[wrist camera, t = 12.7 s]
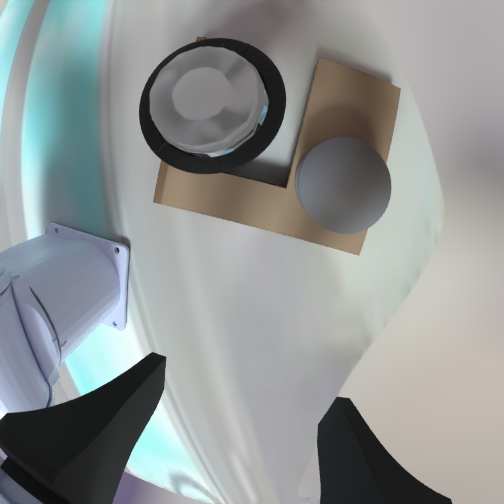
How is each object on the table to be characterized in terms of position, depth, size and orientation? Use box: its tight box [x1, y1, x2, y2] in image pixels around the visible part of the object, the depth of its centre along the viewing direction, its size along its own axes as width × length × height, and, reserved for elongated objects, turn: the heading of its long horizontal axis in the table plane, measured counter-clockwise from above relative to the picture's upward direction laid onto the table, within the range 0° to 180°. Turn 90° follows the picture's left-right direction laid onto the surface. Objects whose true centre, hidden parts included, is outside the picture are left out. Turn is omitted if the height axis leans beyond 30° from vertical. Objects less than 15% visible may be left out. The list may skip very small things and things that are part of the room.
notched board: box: [153, 37, 401, 255], centre depth 15 cm, size 14×12×4 cm
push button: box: [139, 38, 286, 174], centre depth 12 cm, size 7×5×10 cm
